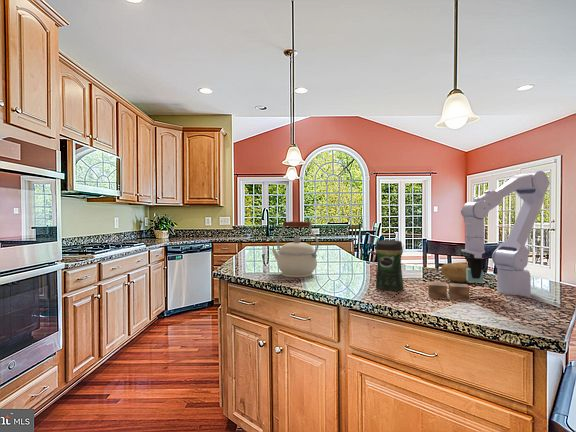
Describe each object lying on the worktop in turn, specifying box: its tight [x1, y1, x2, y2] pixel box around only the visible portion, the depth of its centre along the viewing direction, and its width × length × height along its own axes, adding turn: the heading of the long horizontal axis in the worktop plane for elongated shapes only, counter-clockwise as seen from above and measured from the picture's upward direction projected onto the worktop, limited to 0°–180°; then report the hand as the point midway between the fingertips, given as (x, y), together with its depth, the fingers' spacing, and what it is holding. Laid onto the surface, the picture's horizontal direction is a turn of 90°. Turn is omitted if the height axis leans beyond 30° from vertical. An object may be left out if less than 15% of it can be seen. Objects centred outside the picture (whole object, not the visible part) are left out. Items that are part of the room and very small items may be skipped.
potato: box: [440, 262, 469, 284], centre depth 143 cm, size 10×14×8 cm
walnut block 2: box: [448, 282, 470, 301], centre depth 114 cm, size 6×6×4 cm
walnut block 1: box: [427, 281, 448, 299], centre depth 116 cm, size 6×6×4 cm
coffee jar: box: [375, 239, 404, 292], centre depth 128 cm, size 10×8×19 cm
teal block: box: [466, 268, 484, 284], centre depth 118 cm, size 4×4×4 cm
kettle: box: [271, 220, 320, 279], centre depth 161 cm, size 25×18×25 cm
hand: (474, 277), depth 118 cm, fingers closed on teal block, 4 cm apart
